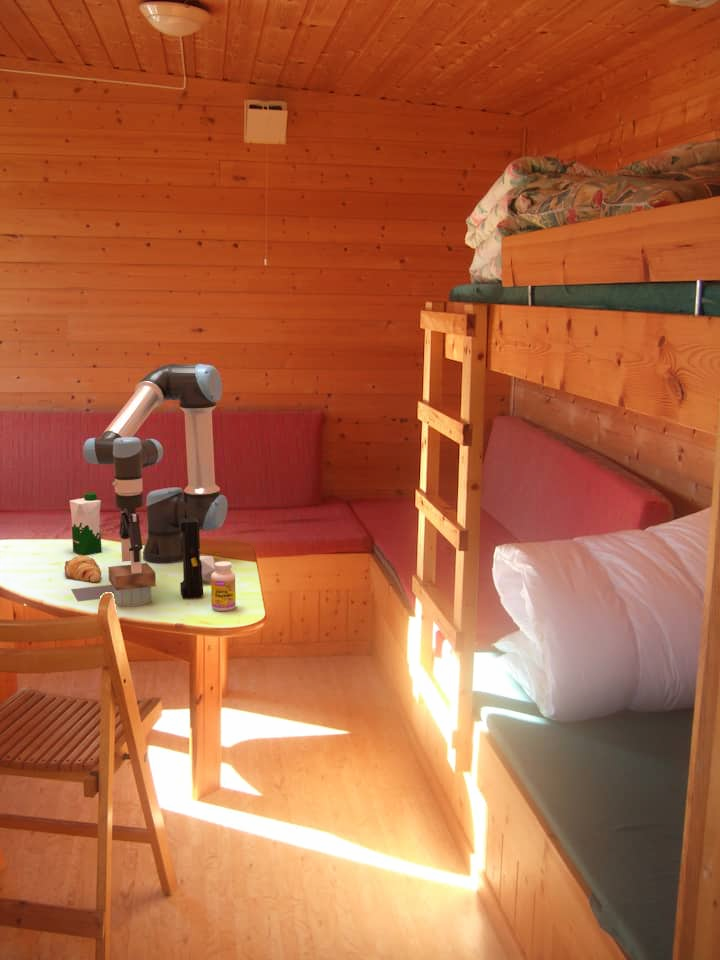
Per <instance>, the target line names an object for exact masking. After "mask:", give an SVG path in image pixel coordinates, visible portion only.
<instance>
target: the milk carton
mask: <svg viewBox="0 0 720 960" xmlns="http://www.w3.org/2000/svg"><path fill="white" fill-rule="evenodd" d="M97 496H98V495H97V492H85V493H84V497H83V498H76V499H71V500H69V507H70V513H71V514H70V517H71V536H72V552H73V553H76V554H78V555H84V556H87V555H93V554H98V553H99V554H100V553H102V551H103V550H102V537H101V535H102V534H101V533H102V532H101V514H100V513H101V504H102V500H100V499H98V497H97Z"/></svg>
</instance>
